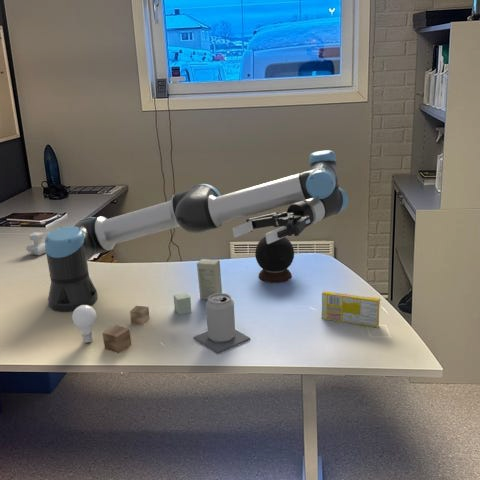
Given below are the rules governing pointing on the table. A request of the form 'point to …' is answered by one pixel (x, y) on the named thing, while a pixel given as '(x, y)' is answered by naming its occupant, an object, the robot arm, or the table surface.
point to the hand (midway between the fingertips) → (249, 235)
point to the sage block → (182, 303)
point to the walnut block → (117, 338)
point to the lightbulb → (85, 321)
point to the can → (220, 317)
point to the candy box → (350, 309)
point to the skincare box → (209, 277)
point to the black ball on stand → (274, 260)
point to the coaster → (221, 347)
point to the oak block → (139, 315)
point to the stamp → (36, 244)
